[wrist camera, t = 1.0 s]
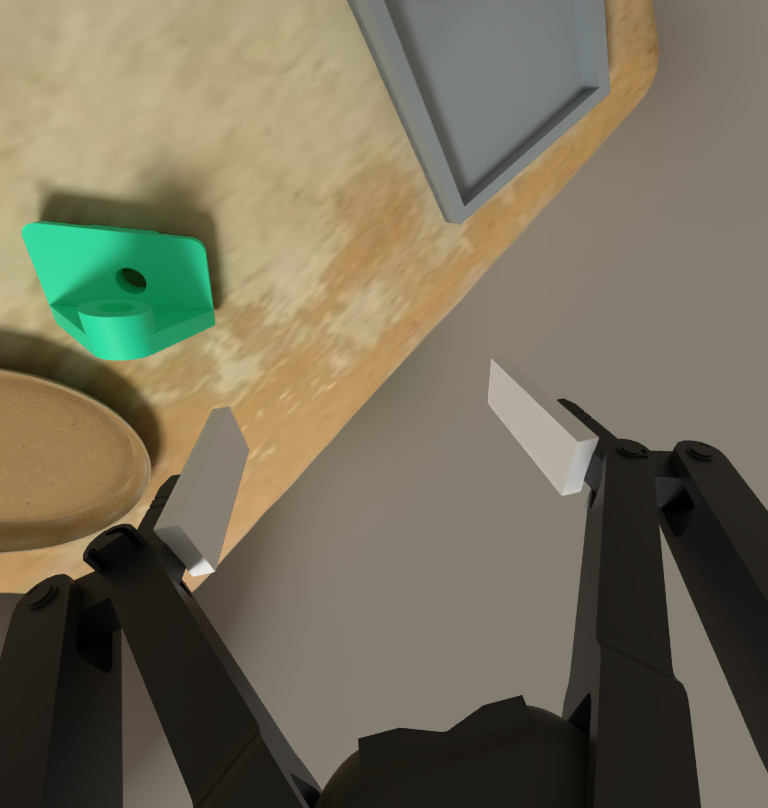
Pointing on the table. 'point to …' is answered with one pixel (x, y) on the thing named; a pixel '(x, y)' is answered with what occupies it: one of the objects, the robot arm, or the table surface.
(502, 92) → the tray
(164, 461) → the table surface
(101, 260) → the camera mount
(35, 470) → the plant saucer
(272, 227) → the table surface
